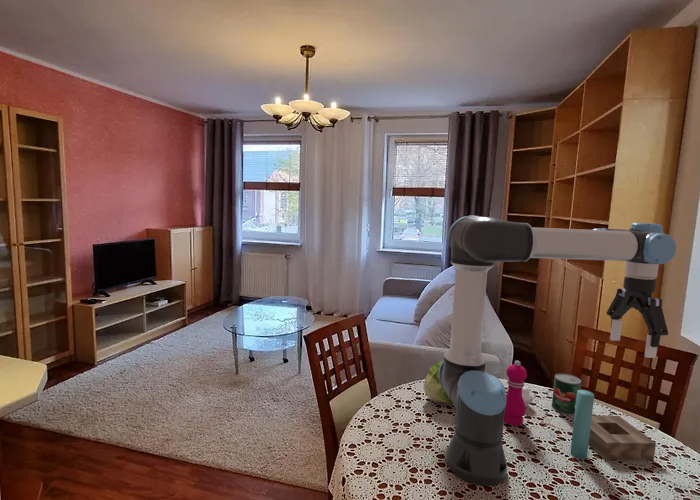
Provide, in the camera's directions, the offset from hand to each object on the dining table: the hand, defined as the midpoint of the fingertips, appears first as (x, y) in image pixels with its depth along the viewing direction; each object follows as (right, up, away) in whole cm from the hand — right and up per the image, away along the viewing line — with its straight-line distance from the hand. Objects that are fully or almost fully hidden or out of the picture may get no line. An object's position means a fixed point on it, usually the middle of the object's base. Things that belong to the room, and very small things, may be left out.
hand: (631, 348), depth 115 cm
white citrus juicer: (-23, -25, +21) cm, 40 cm away
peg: (-19, -28, -6) cm, 34 cm away
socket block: (-6, -28, 0) cm, 29 cm away
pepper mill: (-31, -26, +10) cm, 42 cm away
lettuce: (-47, -24, +22) cm, 57 cm away
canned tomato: (-9, -26, +19) cm, 34 cm away
